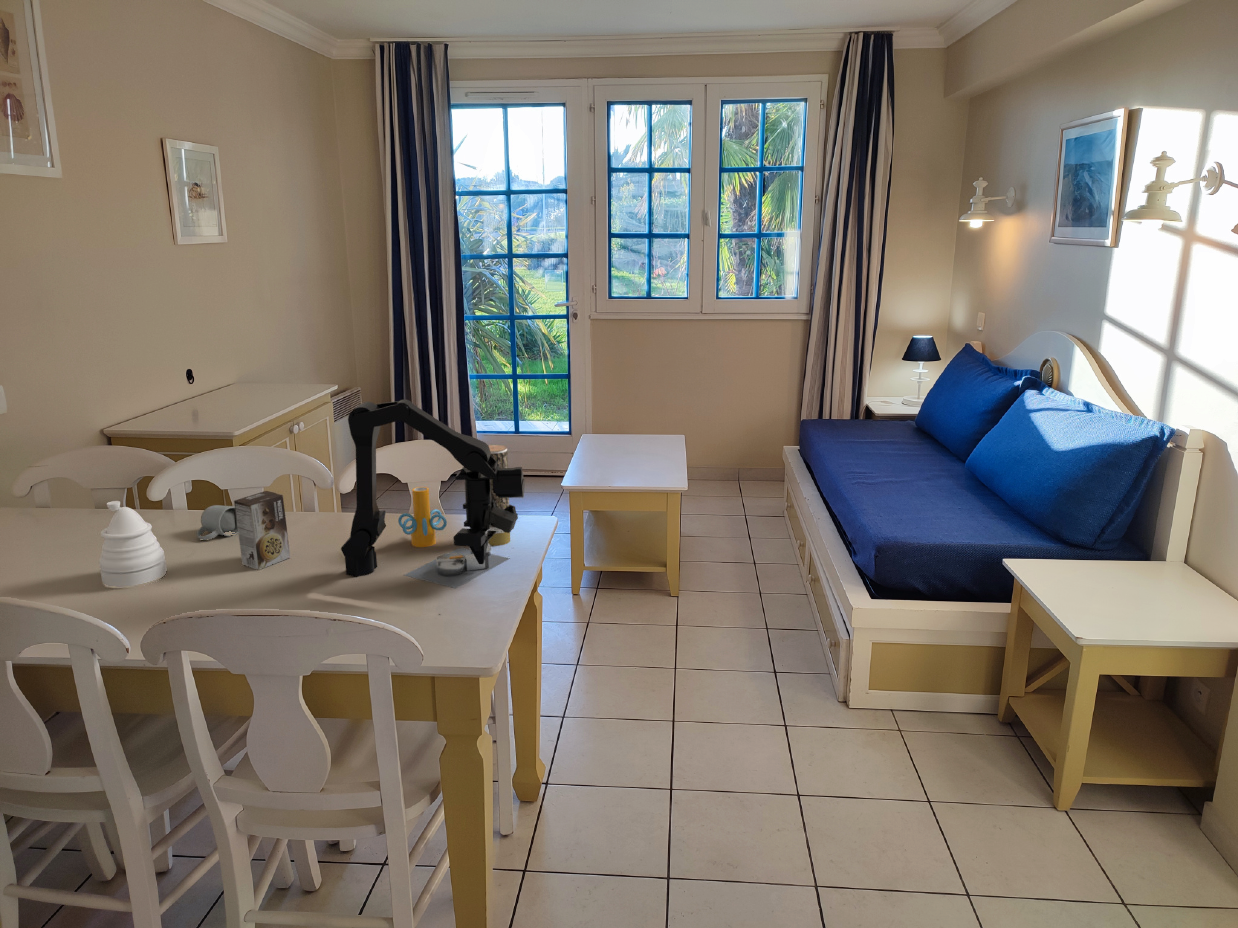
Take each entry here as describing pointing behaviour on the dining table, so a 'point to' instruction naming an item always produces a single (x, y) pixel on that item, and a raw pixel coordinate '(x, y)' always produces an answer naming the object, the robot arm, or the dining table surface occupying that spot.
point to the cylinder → (422, 519)
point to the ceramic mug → (218, 521)
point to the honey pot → (130, 550)
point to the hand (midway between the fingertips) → (481, 563)
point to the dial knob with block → (458, 564)
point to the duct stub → (487, 550)
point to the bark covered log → (502, 459)
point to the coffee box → (262, 529)
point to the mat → (431, 575)
